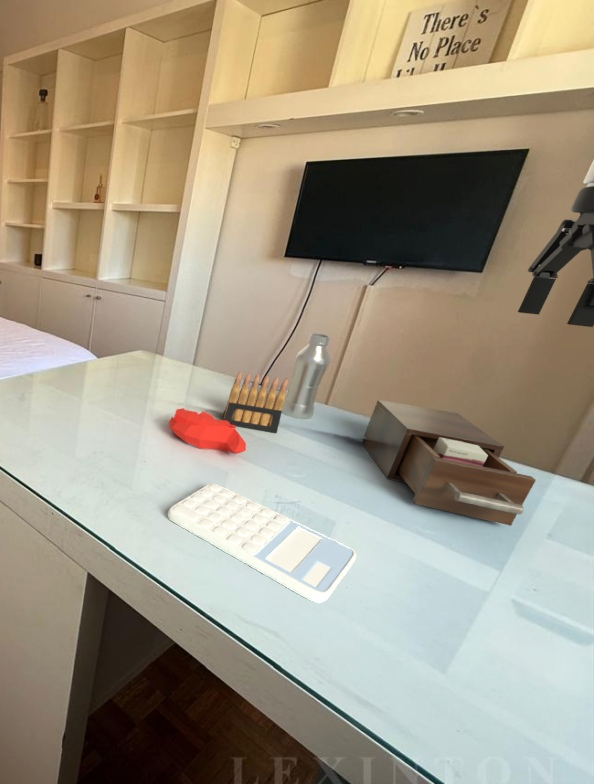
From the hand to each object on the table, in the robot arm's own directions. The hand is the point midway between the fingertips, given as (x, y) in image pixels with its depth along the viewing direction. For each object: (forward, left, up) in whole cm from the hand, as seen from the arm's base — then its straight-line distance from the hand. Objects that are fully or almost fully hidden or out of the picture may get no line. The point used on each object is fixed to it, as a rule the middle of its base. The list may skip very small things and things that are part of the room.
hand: (551, 319), depth 79 cm
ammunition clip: (+42, +6, -29) cm, 51 cm away
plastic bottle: (+32, -4, -29) cm, 43 cm away
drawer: (+14, +23, -28) cm, 39 cm away
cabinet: (+14, +10, -29) cm, 33 cm away
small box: (+15, +22, -27) cm, 38 cm away
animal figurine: (+50, +20, -29) cm, 61 cm away
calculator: (+44, +49, -29) cm, 72 cm away
